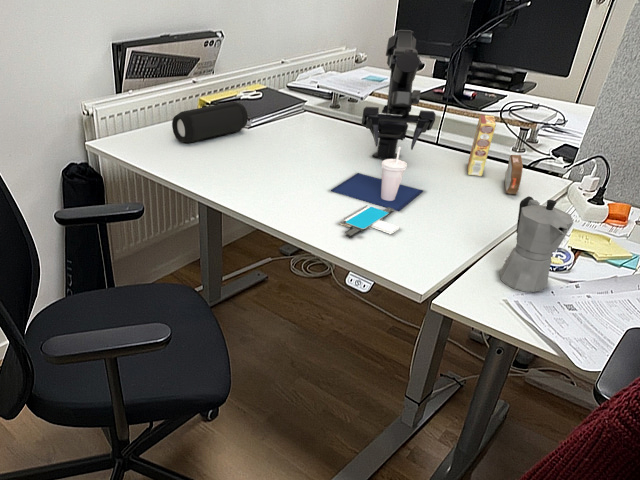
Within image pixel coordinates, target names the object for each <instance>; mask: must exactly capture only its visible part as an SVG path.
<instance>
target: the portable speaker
mask: <svg viewBox="0 0 640 480" xmlns="http://www.w3.org/2000/svg"><path fill="white" fill-rule="evenodd" d="M248 119H249V116H248V111H247V109H246V107H245V105H243V104H242V103H240V102H237V101H230V102H225V103H218V104H214V105H209V106H204V107H199V108H193V109H188V110H183V111H180V112H178V113H177V114H176V115H174V116H173V118H172V121H171V127H172V132H173V135H174V137H175V138H176V140H177V141H179V142H181V143H186V144H191V143H197V142H201V141H204V140H208V139H213V138H217V137H222V136H226V135H227V136H228V135H231V134H234V133H238V132H240V131H242V130H243V129H244V128H245V127H247V124H248V121H249V120H248Z"/></svg>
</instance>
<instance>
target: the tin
mask: <svg viewBox="0 0 640 480" xmlns="http://www.w3.org/2000/svg"><path fill="white" fill-rule="evenodd" d="M523 167H524V165H523V158H522V155H521V154H510V156H509V158H508V164H507V168H506V171H505V177H504V189H505V193H506V194H508V195H515V196H516V195H517V193H518V192H519V188H520V185H521V181H522V176H523V169H524V168H523Z"/></svg>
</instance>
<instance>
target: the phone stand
mask: <svg viewBox="0 0 640 480" xmlns="http://www.w3.org/2000/svg"><path fill="white" fill-rule="evenodd" d="M393 213H394V210H393V208H391V209H390V207H388V208H387V207H385V209H380V208H377V207H374V206H369V207H368V204H367V205H365V206H363V207H361V208H359V209H358V210H356V211H354V212H352V213H351V214H349V215H347V216H345V217H343V219H342V221H341V222H339V225H340V226H342V227H346V228H349V229H348V230H346V231H345V234H346V235H345V237H347V238H349V239H351V238H353V237H355V236H357V235H359V234H360V233H362V232H363V231H365V230H368V229H370V228H372V229H375V230H378V231H380V232H384V233H386V234H389V235H392V234H394V233H395V232H397V231H398V230H399V229H400V227H399V226H398V225H395V224H392V223H390V222H387V221H384V218H386V217H387V216H389V215H390V214H393Z"/></svg>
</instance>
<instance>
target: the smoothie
mask: <svg viewBox="0 0 640 480" xmlns="http://www.w3.org/2000/svg"><path fill="white" fill-rule="evenodd" d="M397 147H398V148H397V152H396V153H397V157H396V158H395V159H386V160H385V159H382V161H381V164H380V166H381V179H382V185H381V198H382V199H383V200H387V201H393V200H395V197H396V194H397V191H398V188H399V185H401V183H402V179H403V176H404V173H405V171H406V169H407V166H408V165H407V164H408V163H407V162H406V161H404V160H401V159H400V154H401V150H402V149H401V148H402V146H397Z"/></svg>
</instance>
